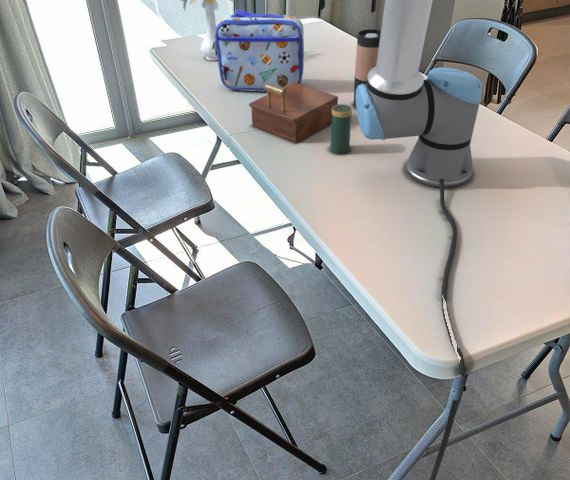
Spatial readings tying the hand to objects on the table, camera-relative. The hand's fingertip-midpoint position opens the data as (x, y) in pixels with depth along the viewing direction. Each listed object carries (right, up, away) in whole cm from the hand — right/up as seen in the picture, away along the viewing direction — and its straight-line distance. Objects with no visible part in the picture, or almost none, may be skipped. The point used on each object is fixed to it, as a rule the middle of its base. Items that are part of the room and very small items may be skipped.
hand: (347, 9), depth 143 cm
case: (-14, -28, +8) cm, 32 cm away
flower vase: (-42, +7, +47) cm, 63 cm away
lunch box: (-24, -11, +27) cm, 38 cm away
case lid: (-14, -23, +4) cm, 28 cm away
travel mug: (+7, -20, +15) cm, 27 cm away
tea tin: (-2, -38, -4) cm, 38 cm away
